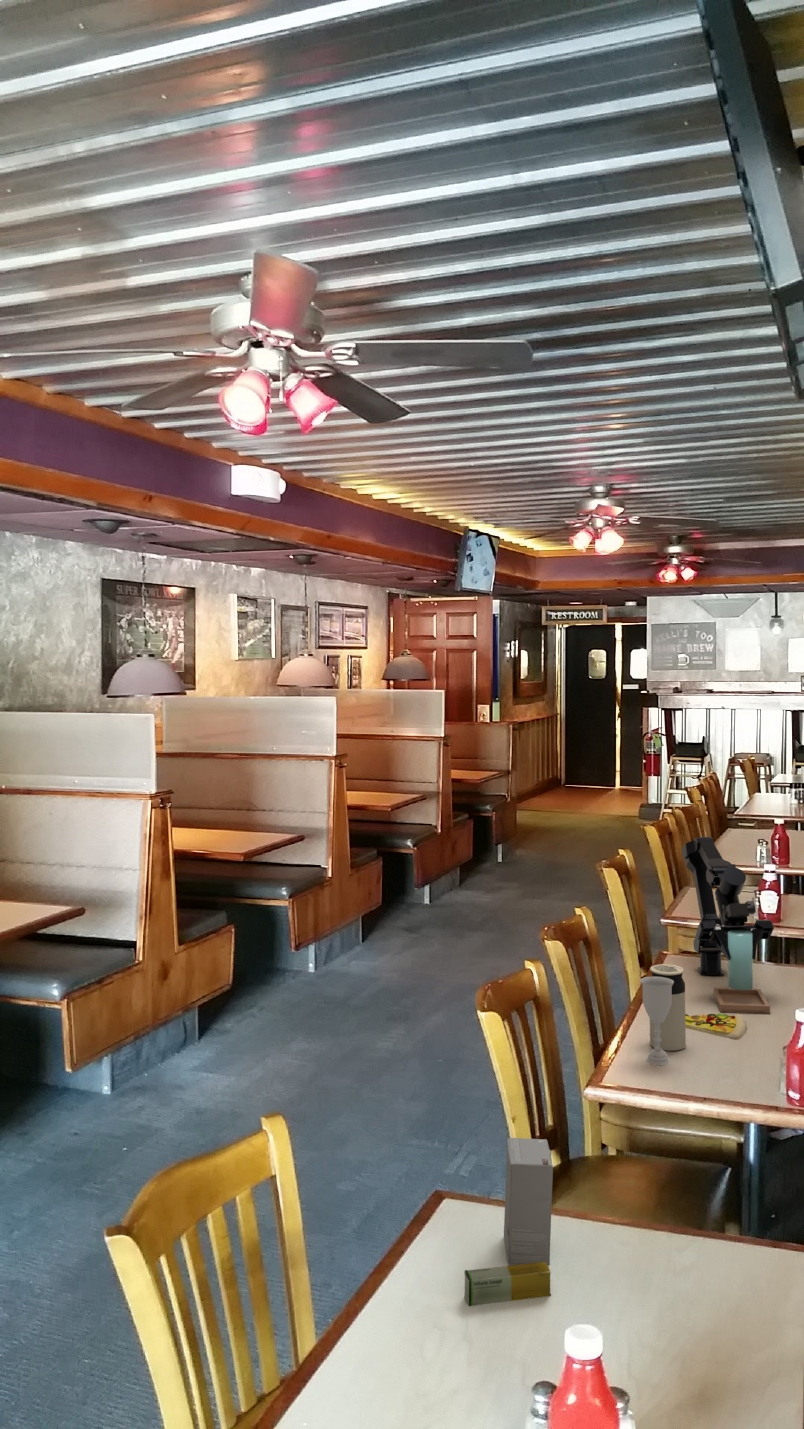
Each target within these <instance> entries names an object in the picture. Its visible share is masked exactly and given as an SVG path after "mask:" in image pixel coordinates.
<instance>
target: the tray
mask: <svg viewBox="0 0 804 1429" xmlns="http://www.w3.org/2000/svg"><path fill="white" fill-rule="evenodd" d="M712 991H713V992H712V995H713V998H714V1001H715V1003H716V1005H718V1006H717V1008H718V1010H719V1012H720V1014H721V1013H724V1014H755V1015H758V1014H759V1015H770V1014H771V1005H770V1004H769V1001H768V1000H767V999H766V998H767V997H766V996H765V995H764V993H763V991H762V990H761V989H760V988H752V989H750V990H735V989H732V988H730V987H728V988H727V987H712Z"/></svg>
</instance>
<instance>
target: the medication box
mask: <svg viewBox="0 0 804 1429" xmlns="http://www.w3.org/2000/svg"><path fill="white" fill-rule="evenodd" d="M550 1296H552V1294H551V1270H550V1268H549V1265H547V1264H546V1263H545V1262H539V1263H530V1264H520V1265H504V1266H495V1267H486V1268H477V1269H465V1270H464V1302H465V1303H466V1304H467V1306H468V1307H471V1306H472V1307H473V1306H481V1305H488V1304H497V1303H498V1304H499V1303H505V1302H514V1301H521V1300H529V1299H530V1300H531V1299H538V1298H545V1297H550Z"/></svg>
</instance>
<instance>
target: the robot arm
mask: <svg viewBox="0 0 804 1429" xmlns="http://www.w3.org/2000/svg"><path fill="white" fill-rule="evenodd" d="M681 854H682V859H684V862H685V867H687V869H688V870H689V871H690V872H691V873H692V874H693V880H694V887H695V892H696V898H697V899H696V900H697V905H698V909H699V915H700V922H699V924H698V925H697V926H698V927H697V929H696V933H695V936H694V939H693V949H694V951H695V952H696V953H697V954H700V955H699V956H700V957H699V958H700V960H699V961H700V962H699V963H700V966H699V967H697V970H698V973H699V975H700V976H722V977H723V976H725V973H724V971H723V968H722V954H723V956H724V957H725V958H726V959H727V961H728V960H730V953H729V949H728V931H731V930H745V931H749V932H752V943H753V961H754V960H756V956H757V947H758V943H759V942H761V940H768V939H769V940H770V938H771V936H772V933H773V932H774V930H775V926H774V923H773V922H772V920H770V919H756V920H755V922H754V924H751V925H750V924H749V925H747V924H746V923H747V922H748V919H749V918H748V917H750V915H755V914H756V912H757V908H756V905H755V901H754V900H747V901H746V902H743V903H741V902H740V899H739V895H741V893H742V890H743V888H744V886H745V882H746V880H747V875H746V873H745V872H744V871H743V870H742V869H740V868H738V867H737V866H736V864H733V863H732V862H730V861H729V860H725V859H723V857H722V855H721V853H720V852H719V850H718V847H717V846H716V844H715V839H714V837H712V836H698V837H694V839H693V840H691V841H688V842H686V843H685V844H684V845H683V846H682V849H681ZM713 887H717V888H716V889H715V891H713V890H714V889H713ZM714 894H715V895H714ZM714 896H715V897H714ZM715 901H716V902H715ZM716 904H717V907H716ZM717 908H718V912H719V914H718V913H717Z"/></svg>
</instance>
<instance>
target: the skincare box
mask: <svg viewBox="0 0 804 1429" xmlns="http://www.w3.org/2000/svg"><path fill="white" fill-rule="evenodd" d="M548 1142H549V1141H548V1140H547V1139H546V1138H544V1139H543V1138H542V1139H540V1138H524V1137H523V1138H522V1137H521V1138H520V1137H509V1138H507V1139H506V1162H505V1163H506V1167H505V1168H506V1169H505V1192H504V1193H505V1194H504V1197H505V1198H504V1218H503V1219H504V1221H503V1244H504V1250H505V1251H504V1252H505V1257H506V1262H507V1264H508V1266H511V1265H520V1264H530V1263H539V1262H545V1263H546V1264H547V1266H550V1264H551V1263H550V1261H551V1258H550V1256H551V1233H552V1232H551V1231H552V1230H551V1229H552V1202H553V1201H552V1200H553V1182H554V1181H553V1180H554V1179H553V1177H554V1176H553V1175H554V1166H553V1161H552V1157H551V1155H552V1151H551V1149H550V1146H549V1143H548Z"/></svg>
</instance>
